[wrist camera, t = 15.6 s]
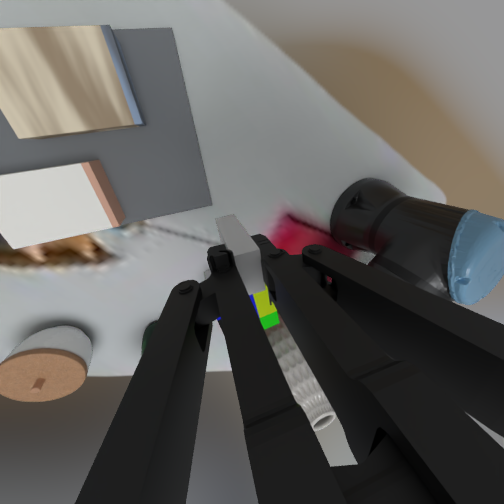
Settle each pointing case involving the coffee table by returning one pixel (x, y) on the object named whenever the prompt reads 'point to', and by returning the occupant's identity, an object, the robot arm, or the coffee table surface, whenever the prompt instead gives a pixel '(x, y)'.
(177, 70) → the mat
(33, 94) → the oak slab
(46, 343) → the lidded jar
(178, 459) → the robot arm
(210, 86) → the coffee table surface
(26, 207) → the cream slab
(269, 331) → the vase
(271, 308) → the puzzle toy
